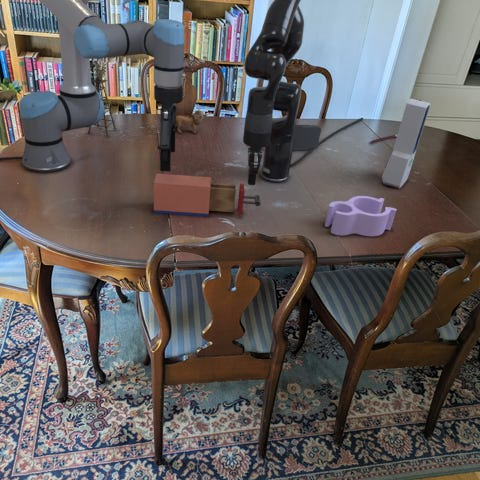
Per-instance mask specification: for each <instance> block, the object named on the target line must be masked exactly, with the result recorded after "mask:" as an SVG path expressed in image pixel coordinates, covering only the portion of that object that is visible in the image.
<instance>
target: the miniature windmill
mask: <svg viewBox="0 0 480 480" xmlns="http://www.w3.org/2000/svg"><path fill="white" fill-rule="evenodd" d="M95 63H96V64H95ZM95 63H94V62H90V69H94V71H95V73H94V74H96V75H95V76H96V78H95V79H93V80H92V83H95V85H94V86H95V88H96V91H97V92H99V93H100V95H101V97H102V101H103V102H105V101H106V103H107V107H106V106H104V115H103V118H102V120H101V121H104V125H101V124H100V122H99V123H98V124H96V125H94V127H95V126H96V127H97V128H99V127H101V128H105V136H106V137H109V132H108V131H109V130H108V127H110V126H111V125H112V126H113V129H114V131H117V127H116V121H115V119H114V117H113V113H112V108H111V106H110V102H109V98H108V96H107V91H106V86H105V85H104V84H105V83H106V82H108V81H109V80H107V79H104V78H105V76H106V72H107V71H106V70H107V63H106V58H102V59H96V60H95ZM103 93H104V96H103ZM105 110H106V111H105ZM108 112H109V114H110V119H106V114H107V113H108ZM107 122H110V123H109V124H107ZM91 128H92V126H90V127H88V131H87V132H88V134H91Z"/></svg>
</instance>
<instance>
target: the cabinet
mask: <svg viewBox="0 0 480 480" xmlns="http://www.w3.org/2000/svg"><path fill="white" fill-rule="evenodd" d="M211 183H212V177H211V176H195V175H185V174H184V175H183V174H170V173H168V174H167V173H156V174H155V177H154V180H153V213H154V214H167V215H182V216H183V215H184V216H197V217H209V216H210V211H209V202H210V187H211Z"/></svg>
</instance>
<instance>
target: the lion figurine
mask: <svg viewBox="0 0 480 480" xmlns="http://www.w3.org/2000/svg"><path fill="white" fill-rule="evenodd" d="M203 120H204V111H202V110H200V109H197V110H195V111H194V112H193V113H192V114H190V115H189V116H183V115H176V125H175V126H178V130H177V132H178V133H179V134H182V133H183V132H182V130H180V128H181V126H182V125H183V126H186V127H189V126H190V132H192V133H193V134H196V133H197V130H196V127H197V126H200V124H201V123H202V122H203Z"/></svg>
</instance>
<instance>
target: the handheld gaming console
mask: <svg viewBox="0 0 480 480" xmlns="http://www.w3.org/2000/svg"><path fill="white" fill-rule="evenodd" d="M321 133H322V127H321V126H319V125H318V124H295V129H294V136H293V142H292V148H291V152H293V151H294V152H295V151H309V150H311V149H312V148H314V150H317V148H318V147H319V146H318V144H319V142H320V137H321Z"/></svg>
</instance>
